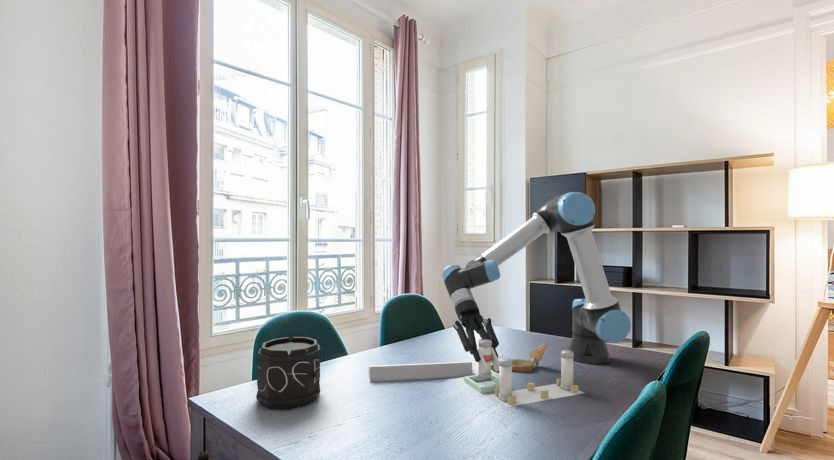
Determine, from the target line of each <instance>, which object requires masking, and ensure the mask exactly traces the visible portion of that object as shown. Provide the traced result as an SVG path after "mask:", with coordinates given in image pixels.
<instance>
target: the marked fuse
mask: <svg viewBox="0 0 834 460" xmlns="http://www.w3.org/2000/svg"><path fill="white" fill-rule="evenodd" d="M491 346H492V340H490V339H482V338H480V339H478V349H480V350H481V352H482V355H483V357H484V360H485V362H486V364H487V367H488V369H487V371H486V372H485V373H482V371H481V369H480V366H479V365H478V371H477V375H478V377H479V378H482V379H487V380H491V379H490V378H491V373H492V370H491V365H492V362H491Z"/></svg>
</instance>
